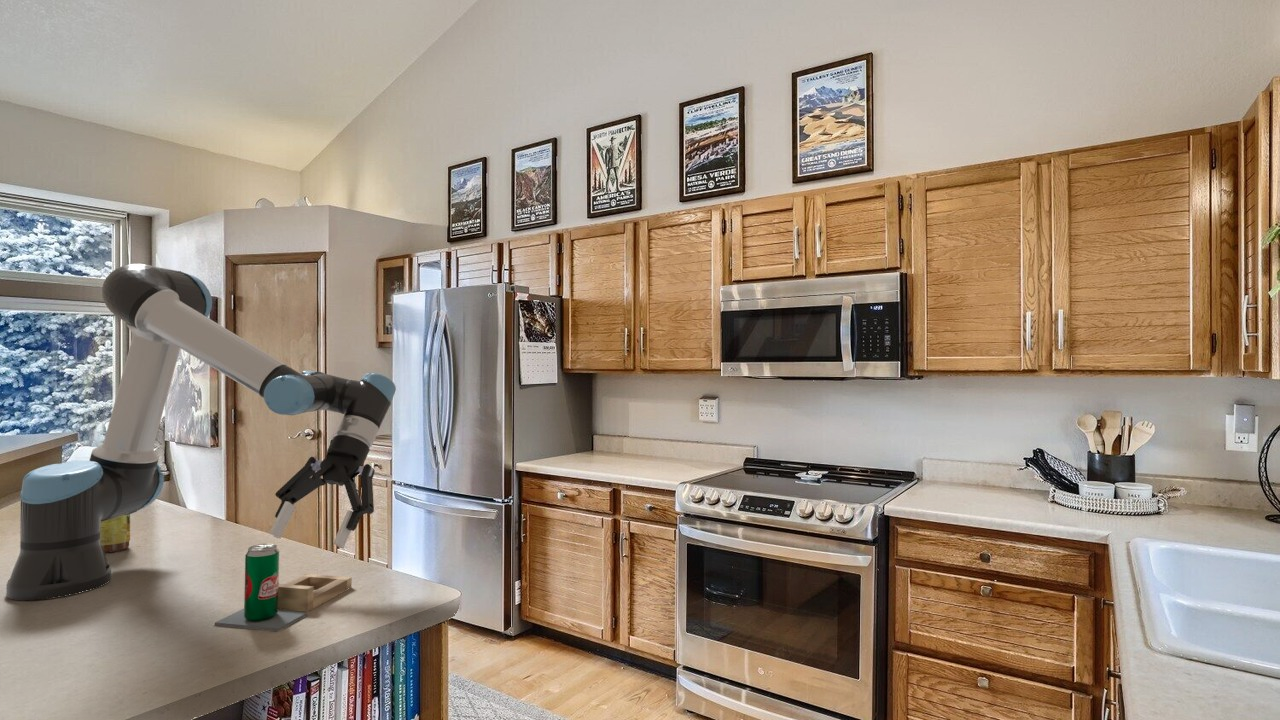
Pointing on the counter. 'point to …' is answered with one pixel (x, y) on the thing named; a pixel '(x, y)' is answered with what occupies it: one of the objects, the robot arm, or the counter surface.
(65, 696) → the counter surface
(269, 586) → the soda can
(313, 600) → the oak frame
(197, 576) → the counter surface
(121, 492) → the robot arm
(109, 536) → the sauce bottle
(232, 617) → the rubber mat
